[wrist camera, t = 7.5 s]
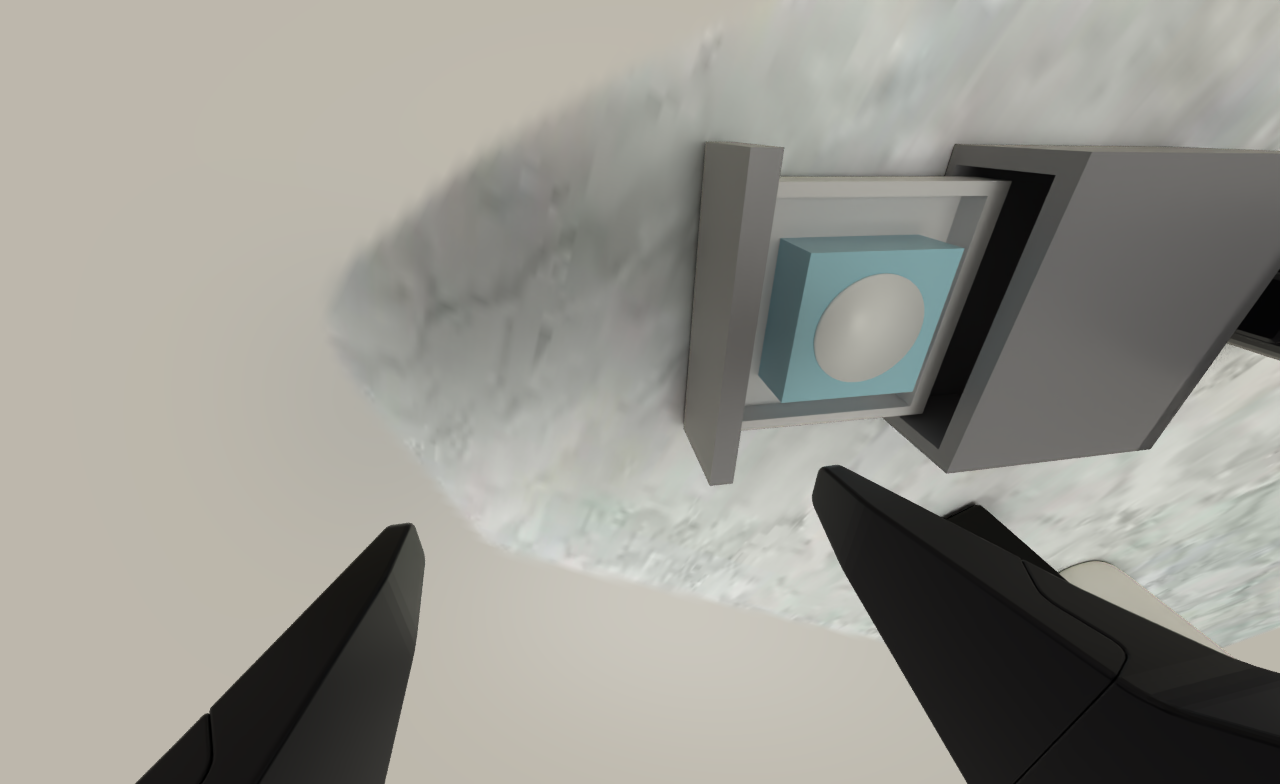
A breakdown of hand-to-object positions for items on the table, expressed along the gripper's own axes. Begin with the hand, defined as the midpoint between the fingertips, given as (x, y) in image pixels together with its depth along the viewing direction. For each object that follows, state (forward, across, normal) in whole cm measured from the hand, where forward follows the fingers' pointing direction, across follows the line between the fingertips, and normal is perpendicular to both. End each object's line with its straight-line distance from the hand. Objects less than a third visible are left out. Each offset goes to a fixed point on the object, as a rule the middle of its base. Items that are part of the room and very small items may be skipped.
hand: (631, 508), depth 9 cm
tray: (+11, -11, 0) cm, 16 cm away
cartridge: (+10, -11, 0) cm, 15 cm away
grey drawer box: (+11, -20, 0) cm, 23 cm away
